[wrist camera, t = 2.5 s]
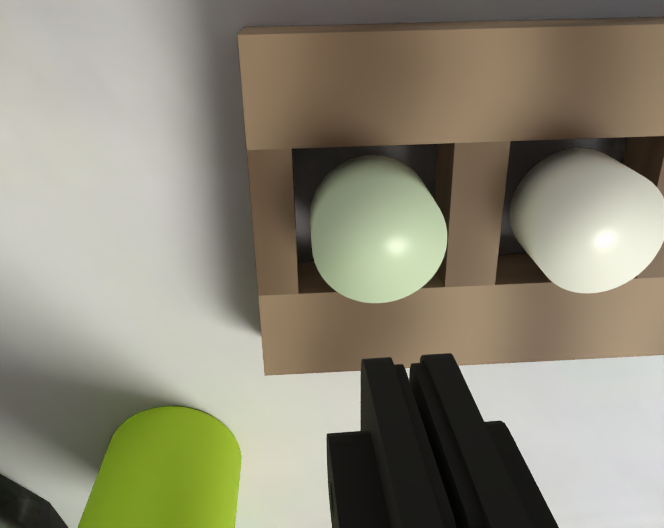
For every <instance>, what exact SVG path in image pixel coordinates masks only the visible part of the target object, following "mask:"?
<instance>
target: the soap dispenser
mask: <svg viewBox="0 0 664 528" xmlns="http://www.w3.org/2000/svg"><path fill="white" fill-rule="evenodd" d="M240 469H241V452H240V448H239V445H238V442H237V440H236V439H235V437H234V435H233V434H232V433H231V431H230V430H229V429H228V428H227V427H226V426H225V425H224V424H223V423H221V422H220V421H219V420H217V419H216V418H214V417H212V416H210V415H208V414H206V413H204V412H201V411H198V410H195V409H191V408H186V407H178V406H165V407H157V408H152V409H148V410H145V411H142V412H140V413H138V414H136V415H134V416H132V417H130V418H129V419H127V420H126V421H125V422H124V423H123V424H121V425H120V426H119V428H118V429H117V430H116V431H115V433H114V434H113V436H112V438H111V440H110V443H109V446H108V448H107V451H106V454H105V456H104V459H103V462H102V464H101V467H100V470H99V472H98V475H97V478H96V480H95V483H94V486H93V488H92V491H91V494H90V496H89V499H88V502H87V504H86V507H85V509H84V512H83V515H82V517H81V520H80V523H79V525H78V528H235V521H236V511H237V500H238V490H239V480H240Z"/></svg>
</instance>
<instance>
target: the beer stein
mask: <svg viewBox="0 0 664 528" xmlns="http://www.w3.org/2000/svg"><path fill="white" fill-rule="evenodd" d="M0 528H68V526H67V525H66V524H65V522H64V521H63V520H62V519H61V517H60V516H59V515H58V513H57V512H56V511H55V509H54V508H53V507H52V505H51V504H50V503H49V502H48V501H46V500H44V499H42V498H41V497H39V496H37V495H36V494H34V493H32V492H30V491H29V490H27V489H25V488H23V487H22V486H20V485H18V484H16V483H15V482H13V481H11V480H10V479H8V478H6V477H4V476H3V475H1V474H0Z"/></svg>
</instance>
